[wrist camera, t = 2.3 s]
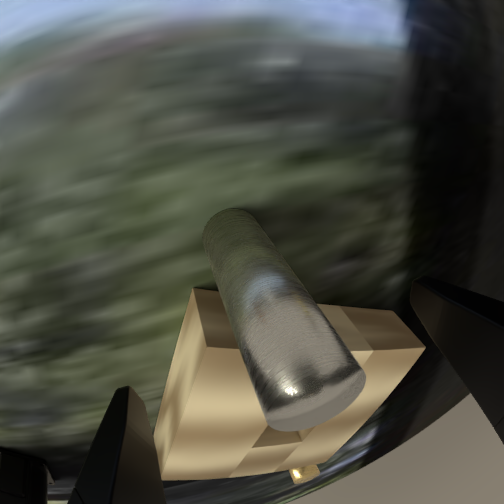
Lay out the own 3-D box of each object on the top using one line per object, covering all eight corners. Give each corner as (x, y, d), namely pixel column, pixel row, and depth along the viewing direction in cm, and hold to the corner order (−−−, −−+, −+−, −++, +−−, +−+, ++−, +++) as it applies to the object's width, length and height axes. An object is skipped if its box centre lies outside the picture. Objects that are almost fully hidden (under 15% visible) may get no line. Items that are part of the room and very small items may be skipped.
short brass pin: (298, 449, 28) (311, 480, 25) (276, 453, 27) (289, 485, 24) (309, 437, 27) (324, 469, 24) (286, 440, 26) (301, 474, 23)
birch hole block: (308, 427, 26) (325, 461, 23) (153, 434, 20) (160, 480, 17) (392, 310, 21) (426, 347, 17) (192, 287, 15) (206, 347, 12)
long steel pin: (248, 265, 15) (333, 425, 8) (195, 256, 14) (250, 435, 7) (267, 215, 14) (384, 362, 7) (212, 202, 13) (294, 366, 6)
